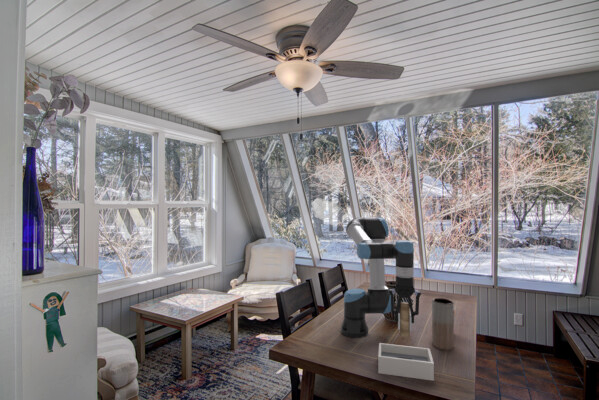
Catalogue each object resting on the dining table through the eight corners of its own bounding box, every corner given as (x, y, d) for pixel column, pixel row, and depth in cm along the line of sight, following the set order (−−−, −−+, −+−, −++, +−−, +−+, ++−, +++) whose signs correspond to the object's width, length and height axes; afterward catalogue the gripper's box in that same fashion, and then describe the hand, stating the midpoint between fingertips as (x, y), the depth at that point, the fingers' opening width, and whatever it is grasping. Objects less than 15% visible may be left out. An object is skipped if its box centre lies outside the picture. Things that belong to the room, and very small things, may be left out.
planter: (432, 348, 160) (432, 302, 160) (432, 340, 170) (431, 297, 170) (454, 351, 157) (454, 304, 157) (452, 343, 166) (452, 299, 166)
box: (378, 373, 137) (378, 356, 137) (379, 357, 150) (379, 342, 150) (433, 380, 131) (433, 363, 131) (429, 364, 144) (429, 348, 144)
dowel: (399, 333, 143) (399, 301, 143) (409, 334, 142) (409, 302, 142) (400, 336, 139) (400, 304, 139) (409, 338, 138) (409, 305, 138)
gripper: (384, 276, 139) (384, 330, 139) (426, 279, 135) (426, 335, 135) (384, 273, 147) (384, 324, 146) (424, 275, 142) (424, 328, 142)
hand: (404, 329), depth 140 cm, fingers closed on dowel, 4 cm apart
